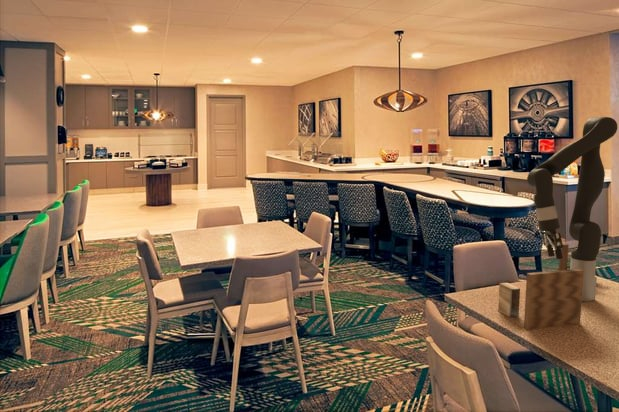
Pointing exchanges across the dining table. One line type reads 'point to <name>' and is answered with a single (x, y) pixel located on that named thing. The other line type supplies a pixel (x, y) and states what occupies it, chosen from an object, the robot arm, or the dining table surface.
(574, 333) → the dining table surface
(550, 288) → the zigzag wooden panel
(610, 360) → the dining table surface
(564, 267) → the wooden block
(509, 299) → the rail end
